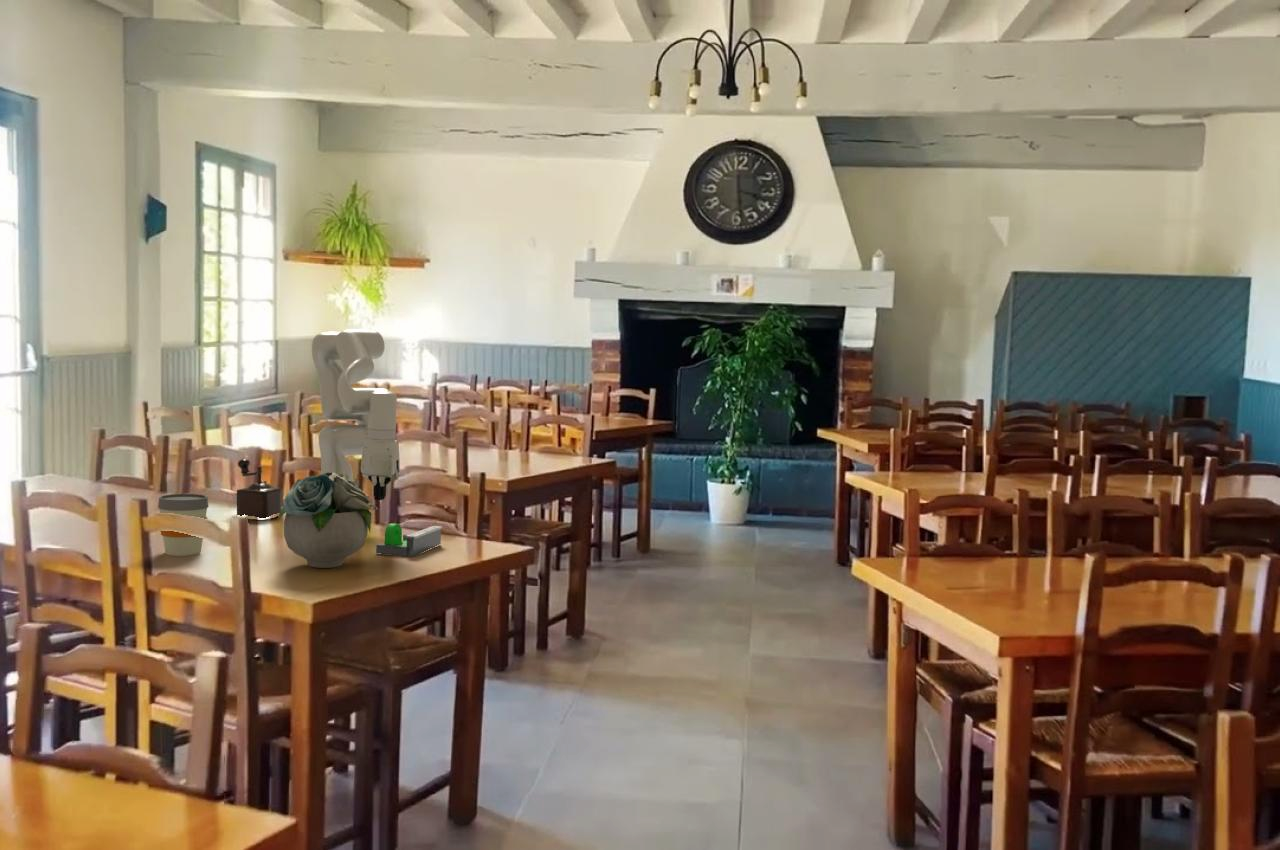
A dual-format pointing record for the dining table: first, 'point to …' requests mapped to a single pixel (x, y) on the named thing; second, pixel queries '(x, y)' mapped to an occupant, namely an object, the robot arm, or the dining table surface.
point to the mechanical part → (394, 535)
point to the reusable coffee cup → (185, 506)
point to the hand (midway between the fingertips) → (379, 499)
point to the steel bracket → (414, 542)
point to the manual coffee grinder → (257, 496)
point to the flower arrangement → (326, 519)
